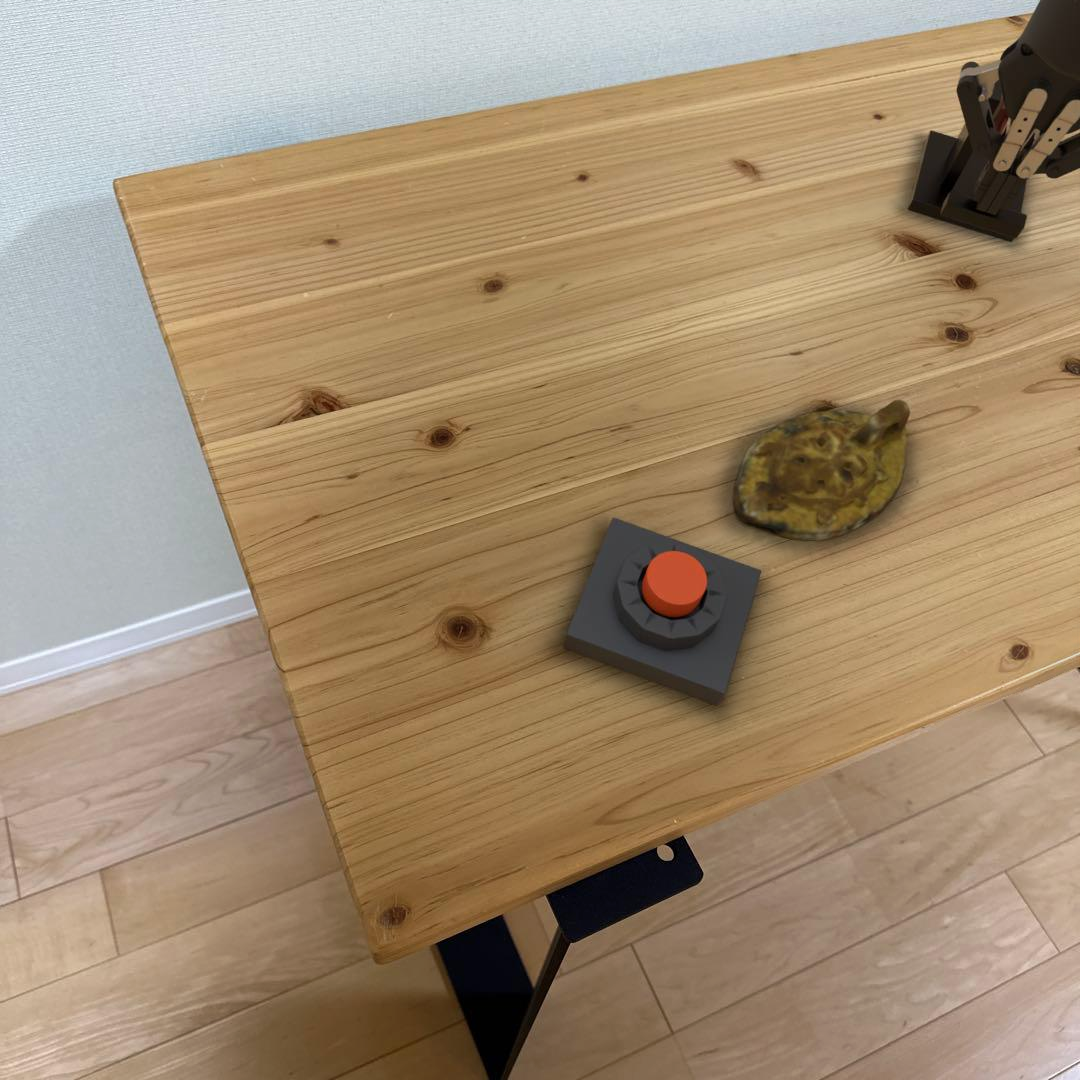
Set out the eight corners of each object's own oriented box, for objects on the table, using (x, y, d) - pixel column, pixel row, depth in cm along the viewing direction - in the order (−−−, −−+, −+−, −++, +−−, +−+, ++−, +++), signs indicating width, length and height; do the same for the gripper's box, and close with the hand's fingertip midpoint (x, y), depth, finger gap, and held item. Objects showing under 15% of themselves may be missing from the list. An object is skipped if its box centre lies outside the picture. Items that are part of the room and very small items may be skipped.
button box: (752, 586, 64) (770, 556, 60) (716, 707, 59) (733, 682, 56) (608, 533, 65) (617, 501, 61) (562, 649, 60) (569, 621, 57)
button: (707, 576, 60) (714, 563, 58) (691, 626, 58) (698, 613, 56) (651, 556, 60) (656, 542, 58) (633, 605, 58) (639, 591, 57)
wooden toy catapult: (1010, 244, 82) (1074, 145, 74) (906, 211, 83) (958, 110, 75) (1022, 172, 87) (1084, 71, 79) (924, 142, 88) (974, 39, 80)
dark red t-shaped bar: (1013, 243, 75) (1028, 223, 73) (936, 219, 76) (949, 198, 74) (1044, 120, 80) (1059, 97, 77) (972, 98, 80) (984, 75, 78)
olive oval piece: (782, 583, 65) (932, 478, 70) (809, 555, 61) (967, 446, 66) (695, 477, 68) (846, 384, 73) (716, 443, 63) (874, 346, 68)
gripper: (1008, -21, 58) (893, 210, 73) (1233, 43, 57) (1069, 265, 72) (1021, -82, 62) (909, 150, 77) (1233, -23, 60) (1076, 201, 75)
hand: (986, 205), depth 74 cm, fingers closed
